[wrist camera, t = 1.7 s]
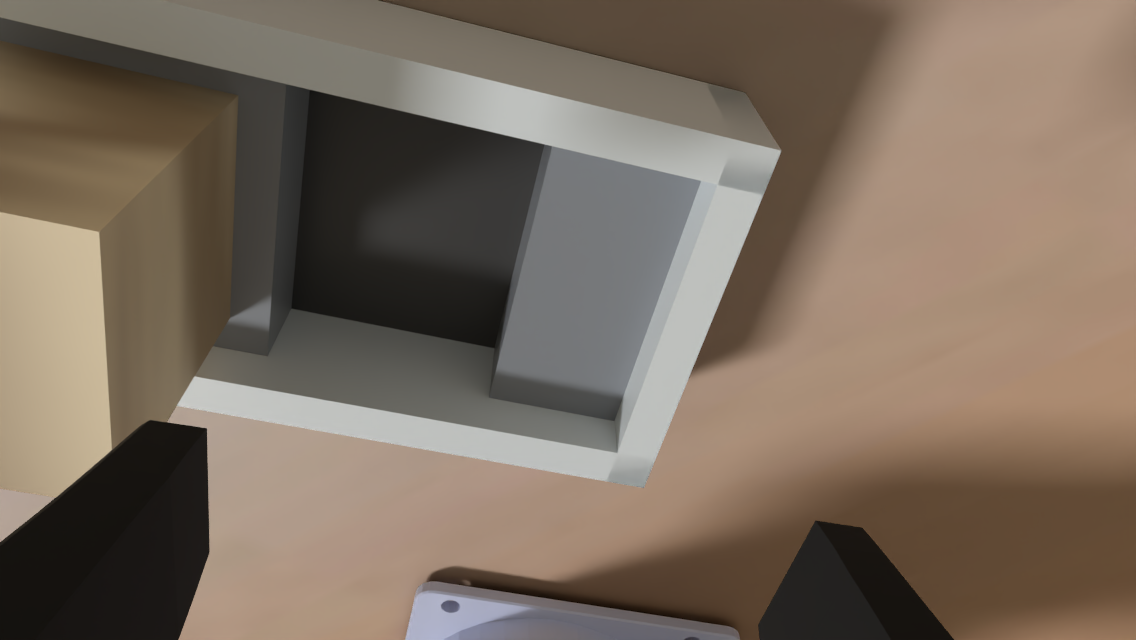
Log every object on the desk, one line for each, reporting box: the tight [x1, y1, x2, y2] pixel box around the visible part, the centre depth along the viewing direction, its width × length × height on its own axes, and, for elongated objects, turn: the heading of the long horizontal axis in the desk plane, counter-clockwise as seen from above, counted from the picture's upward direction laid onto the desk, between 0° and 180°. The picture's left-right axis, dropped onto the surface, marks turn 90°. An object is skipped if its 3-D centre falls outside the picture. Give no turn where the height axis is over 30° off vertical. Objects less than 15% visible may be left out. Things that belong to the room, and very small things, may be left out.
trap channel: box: [0, 0, 781, 488], centre depth 15 cm, size 23×11×3 cm, turn 76°
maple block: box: [0, 41, 238, 497], centre depth 12 cm, size 4×4×5 cm
